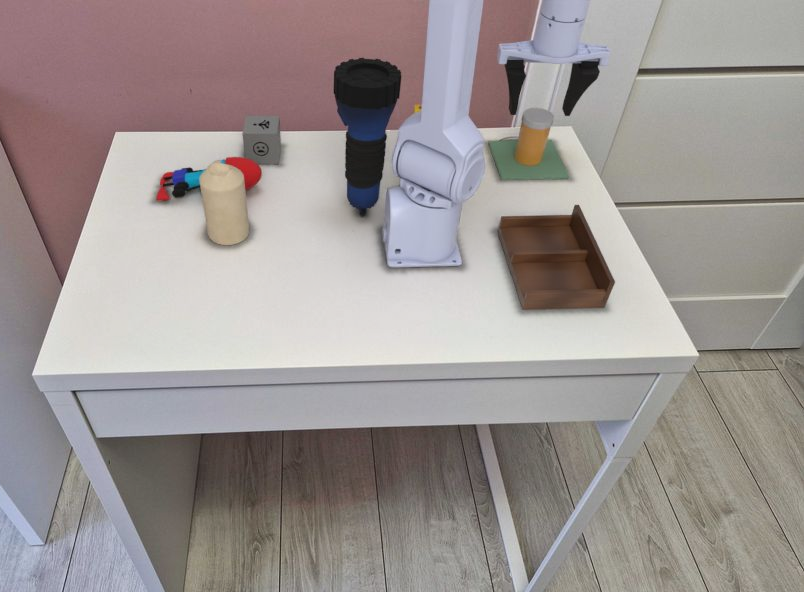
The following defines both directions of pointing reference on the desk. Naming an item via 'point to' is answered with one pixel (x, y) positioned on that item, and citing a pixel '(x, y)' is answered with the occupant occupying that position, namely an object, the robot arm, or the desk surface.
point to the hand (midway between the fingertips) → (539, 112)
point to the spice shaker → (533, 136)
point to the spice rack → (555, 261)
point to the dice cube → (262, 139)
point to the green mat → (516, 171)
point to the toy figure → (190, 179)
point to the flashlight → (365, 123)
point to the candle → (224, 203)
